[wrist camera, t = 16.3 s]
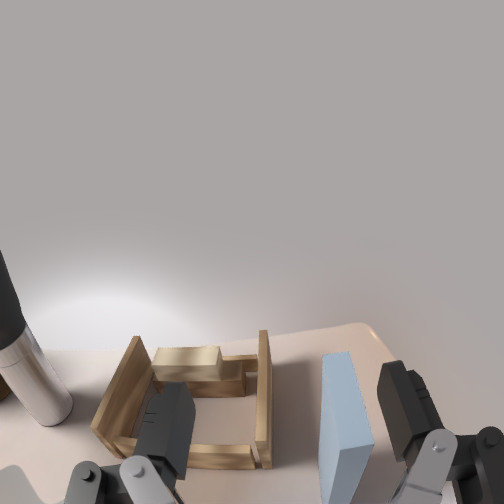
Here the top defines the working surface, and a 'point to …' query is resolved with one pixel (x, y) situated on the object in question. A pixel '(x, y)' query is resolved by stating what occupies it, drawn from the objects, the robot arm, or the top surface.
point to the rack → (200, 456)
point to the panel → (342, 431)
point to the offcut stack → (199, 371)
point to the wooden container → (3, 388)
